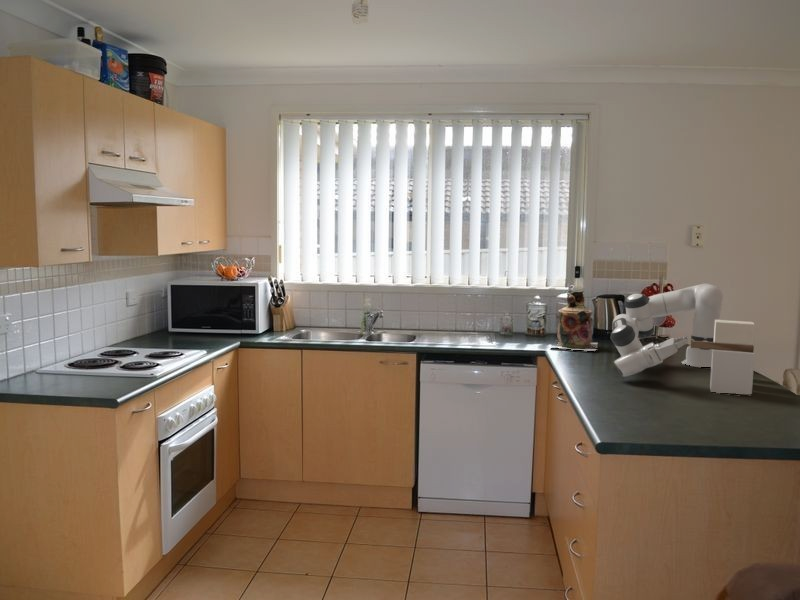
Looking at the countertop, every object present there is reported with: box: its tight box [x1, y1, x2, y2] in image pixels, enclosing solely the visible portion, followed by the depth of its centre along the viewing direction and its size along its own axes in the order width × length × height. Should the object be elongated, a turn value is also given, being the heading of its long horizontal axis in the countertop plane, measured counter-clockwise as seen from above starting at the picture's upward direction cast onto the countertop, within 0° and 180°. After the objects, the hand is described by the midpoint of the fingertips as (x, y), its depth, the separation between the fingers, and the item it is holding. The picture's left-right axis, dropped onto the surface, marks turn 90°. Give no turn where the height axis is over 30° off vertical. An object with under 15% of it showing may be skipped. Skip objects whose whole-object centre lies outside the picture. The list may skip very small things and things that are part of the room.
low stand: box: [709, 349, 756, 394], centre depth 254 cm, size 10×14×16 cm
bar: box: [690, 339, 755, 352], centre depth 255 cm, size 3×22×2 cm, turn 67°
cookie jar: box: [552, 289, 599, 352], centre depth 353 cm, size 25×25×32 cm
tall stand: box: [713, 319, 756, 346], centre depth 268 cm, size 10×14×26 cm
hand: (687, 339), depth 259 cm, fingers open, 8 cm apart
